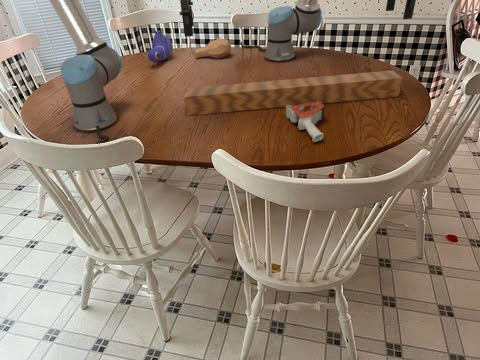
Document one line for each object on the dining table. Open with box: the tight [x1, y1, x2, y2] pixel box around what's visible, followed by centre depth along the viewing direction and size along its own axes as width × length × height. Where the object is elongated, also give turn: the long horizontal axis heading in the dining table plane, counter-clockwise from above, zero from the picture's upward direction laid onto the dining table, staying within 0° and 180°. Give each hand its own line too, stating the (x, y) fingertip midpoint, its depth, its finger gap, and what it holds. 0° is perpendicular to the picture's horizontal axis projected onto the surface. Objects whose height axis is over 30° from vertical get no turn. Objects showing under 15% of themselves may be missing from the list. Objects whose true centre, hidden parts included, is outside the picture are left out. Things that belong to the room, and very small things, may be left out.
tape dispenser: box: [285, 101, 325, 143], centre depth 121 cm, size 18×5×20 cm
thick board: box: [183, 69, 403, 116], centre depth 137 cm, size 82×8×8 cm, turn 95°
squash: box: [194, 37, 232, 59], centre depth 188 cm, size 11×20×9 cm, turn 92°
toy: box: [146, 29, 174, 67], centre depth 185 cm, size 10×17×25 cm
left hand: (189, 31), depth 121 cm, fingers open, 13 cm apart
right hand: (398, 14), depth 124 cm, fingers open, 13 cm apart
